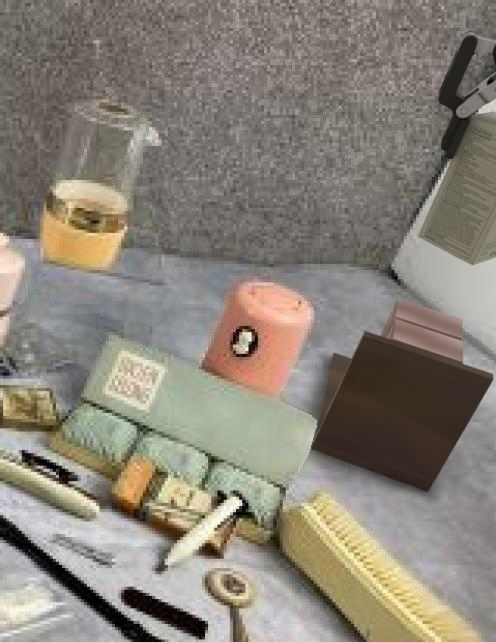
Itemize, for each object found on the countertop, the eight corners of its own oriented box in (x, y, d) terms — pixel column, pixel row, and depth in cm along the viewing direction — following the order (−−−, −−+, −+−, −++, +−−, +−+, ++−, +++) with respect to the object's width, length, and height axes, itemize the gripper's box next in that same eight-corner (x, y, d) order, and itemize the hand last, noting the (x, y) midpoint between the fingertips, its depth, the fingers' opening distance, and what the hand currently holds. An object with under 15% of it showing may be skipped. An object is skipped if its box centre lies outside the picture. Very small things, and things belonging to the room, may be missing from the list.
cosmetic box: (495, 259, 88) (561, 137, 81) (470, 267, 86) (535, 142, 79) (438, 228, 92) (496, 109, 85) (412, 235, 89) (470, 113, 82)
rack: (330, 359, 103) (376, 256, 96) (431, 394, 101) (487, 291, 93) (311, 448, 89) (363, 335, 82) (428, 492, 86) (493, 379, 79)
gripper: (675, -8, 76) (572, 179, 85) (493, -50, 79) (413, 134, 89) (692, 9, 70) (579, 207, 79) (495, -38, 73) (409, 158, 83)
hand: (492, 168), depth 84 cm, fingers closed on cosmetic box, 7 cm apart
